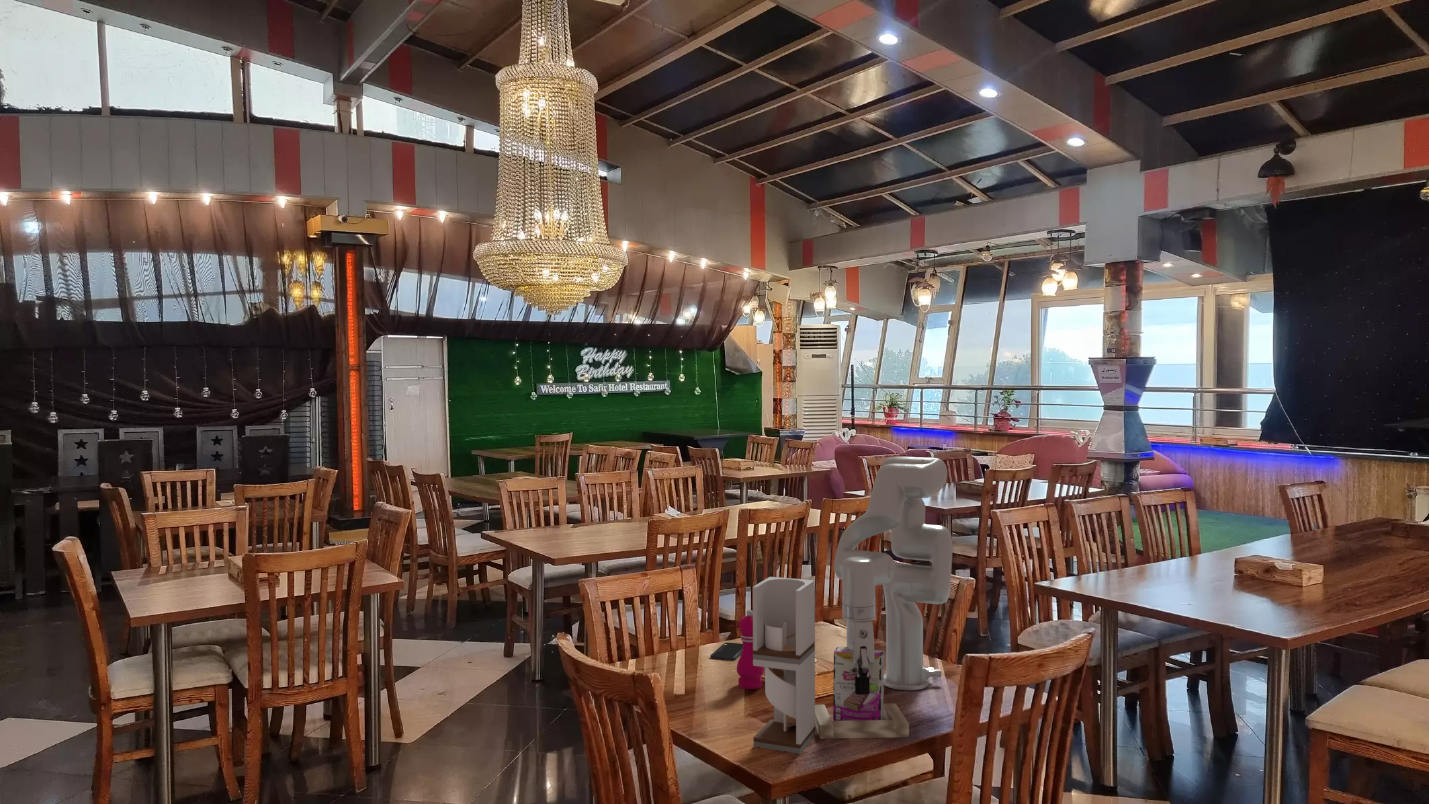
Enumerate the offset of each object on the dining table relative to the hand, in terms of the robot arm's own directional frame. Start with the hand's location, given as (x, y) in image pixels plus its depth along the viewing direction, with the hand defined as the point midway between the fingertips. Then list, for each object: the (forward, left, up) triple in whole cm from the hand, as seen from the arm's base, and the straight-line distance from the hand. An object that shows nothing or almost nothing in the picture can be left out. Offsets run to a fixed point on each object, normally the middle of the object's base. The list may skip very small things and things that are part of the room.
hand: (859, 687), depth 205 cm
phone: (+27, -60, -10) cm, 66 cm away
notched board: (0, 0, -9) cm, 9 cm away
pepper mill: (+23, -30, -9) cm, 39 cm away
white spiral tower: (+18, +8, -9) cm, 22 cm away
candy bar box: (0, 0, -8) cm, 8 cm away
